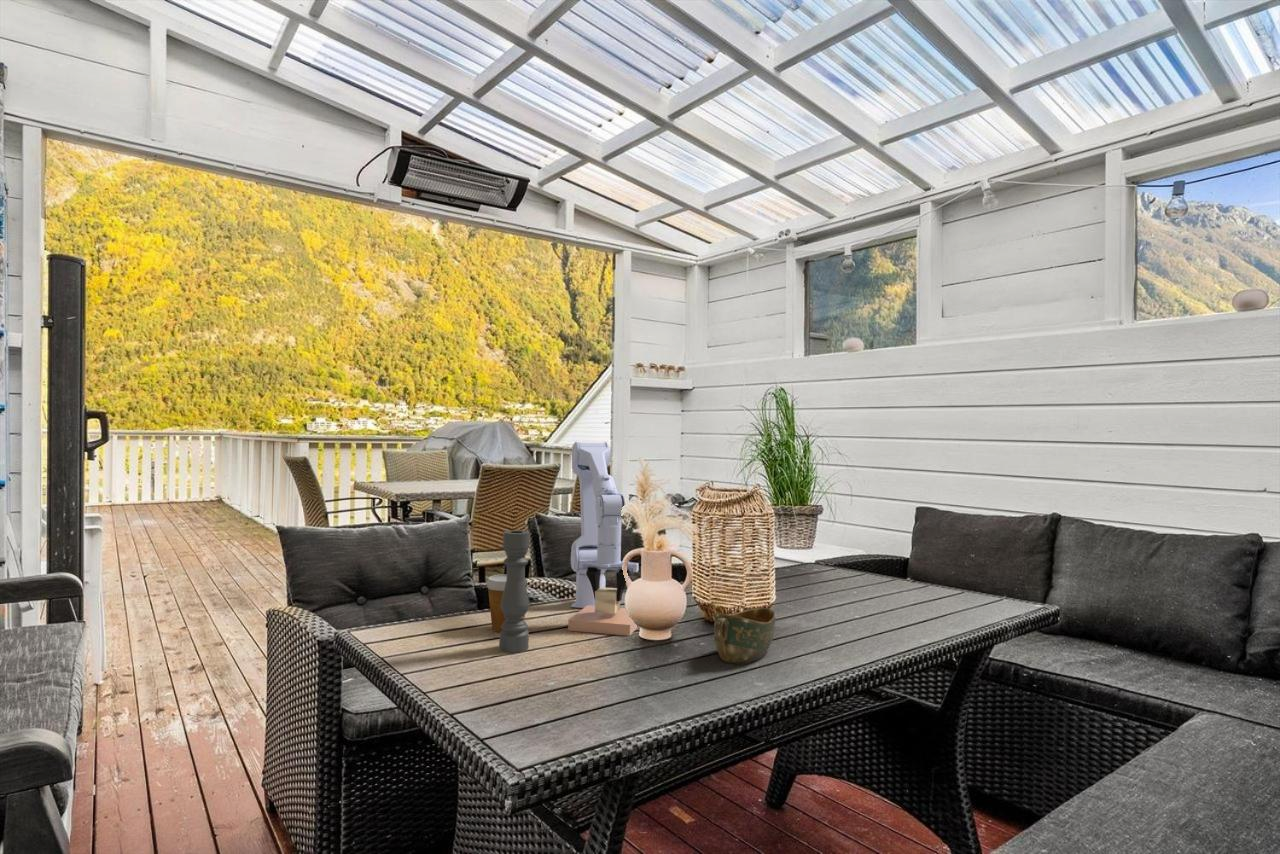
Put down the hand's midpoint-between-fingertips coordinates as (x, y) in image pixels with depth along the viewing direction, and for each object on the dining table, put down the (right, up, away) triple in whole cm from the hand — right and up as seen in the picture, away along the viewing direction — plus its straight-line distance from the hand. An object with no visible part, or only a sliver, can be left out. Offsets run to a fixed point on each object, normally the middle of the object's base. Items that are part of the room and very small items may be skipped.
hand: (607, 599), depth 178 cm
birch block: (0, -3, 0) cm, 3 cm away
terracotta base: (0, -6, 0) cm, 6 cm away
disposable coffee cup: (-24, -6, -5) cm, 25 cm away
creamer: (+30, -7, -22) cm, 38 cm away
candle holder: (-19, -6, -21) cm, 29 cm away
